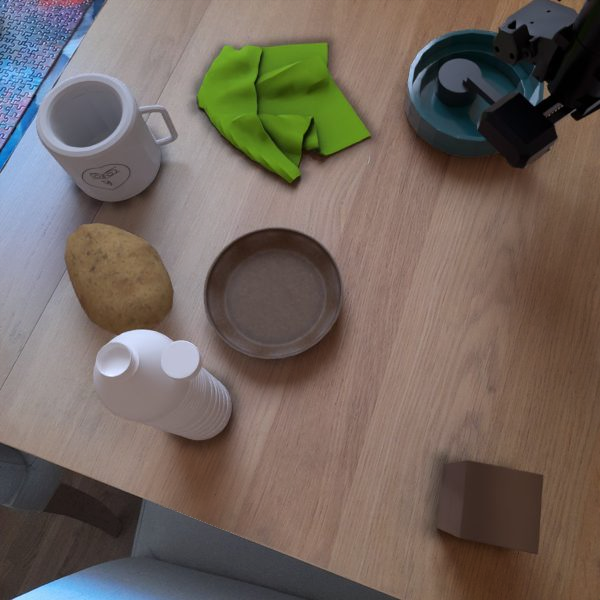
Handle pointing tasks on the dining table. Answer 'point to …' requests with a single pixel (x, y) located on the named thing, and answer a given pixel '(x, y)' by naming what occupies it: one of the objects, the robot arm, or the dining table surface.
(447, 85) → the ladle
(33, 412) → the dining table surface
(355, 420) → the dining table surface
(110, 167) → the mug
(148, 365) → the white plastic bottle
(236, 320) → the saucer
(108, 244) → the potato
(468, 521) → the brown rectangular block
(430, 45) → the bowl
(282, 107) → the cloth
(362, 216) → the dining table surface
